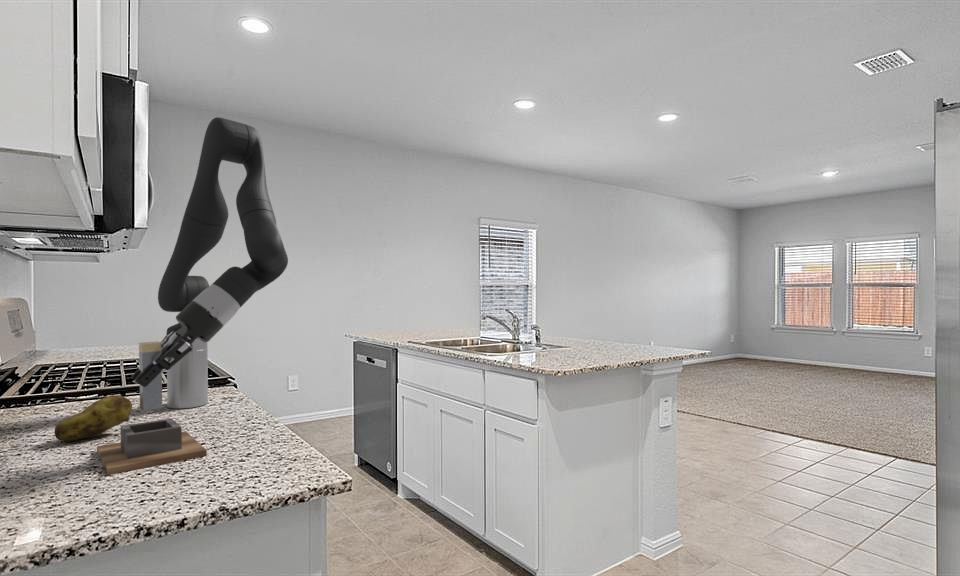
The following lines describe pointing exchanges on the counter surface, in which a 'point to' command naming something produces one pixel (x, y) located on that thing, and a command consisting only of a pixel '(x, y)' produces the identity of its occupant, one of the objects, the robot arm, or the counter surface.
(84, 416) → the potato
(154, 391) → the tall square pillar
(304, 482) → the counter surface
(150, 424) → the well board
